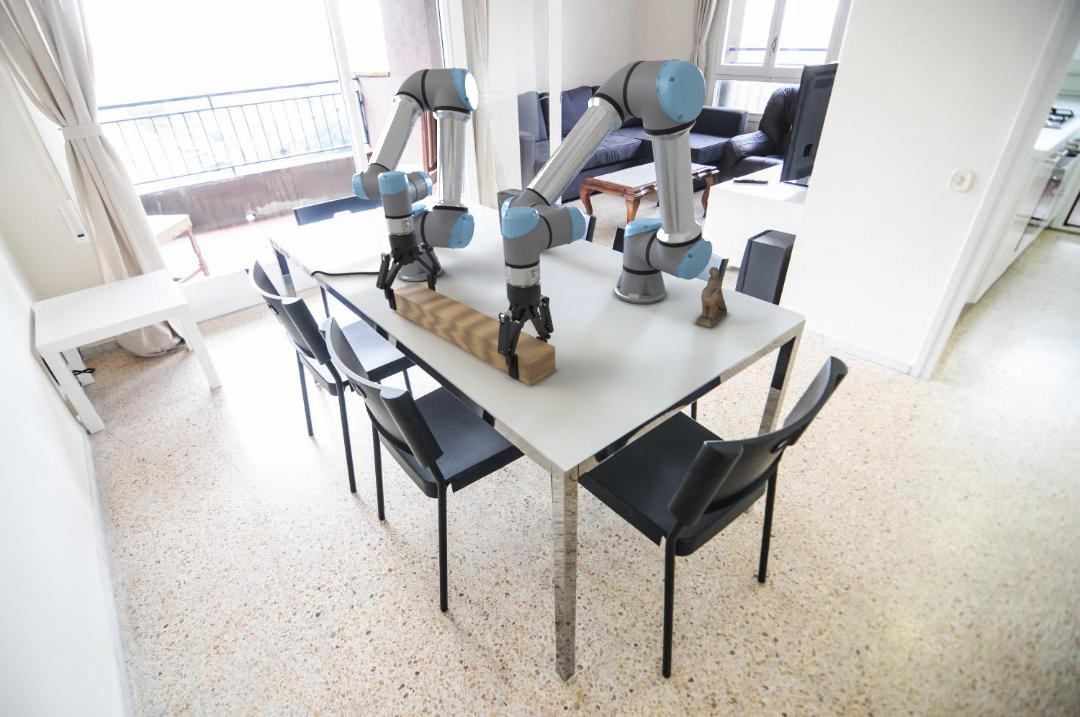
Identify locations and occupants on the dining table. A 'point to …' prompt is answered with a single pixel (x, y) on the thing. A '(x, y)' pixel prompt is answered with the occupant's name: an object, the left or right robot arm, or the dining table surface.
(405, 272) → the left robot arm
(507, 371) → the brown striped wooden beam
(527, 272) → the right robot arm
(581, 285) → the dining table surface
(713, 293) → the brown carved statuette
